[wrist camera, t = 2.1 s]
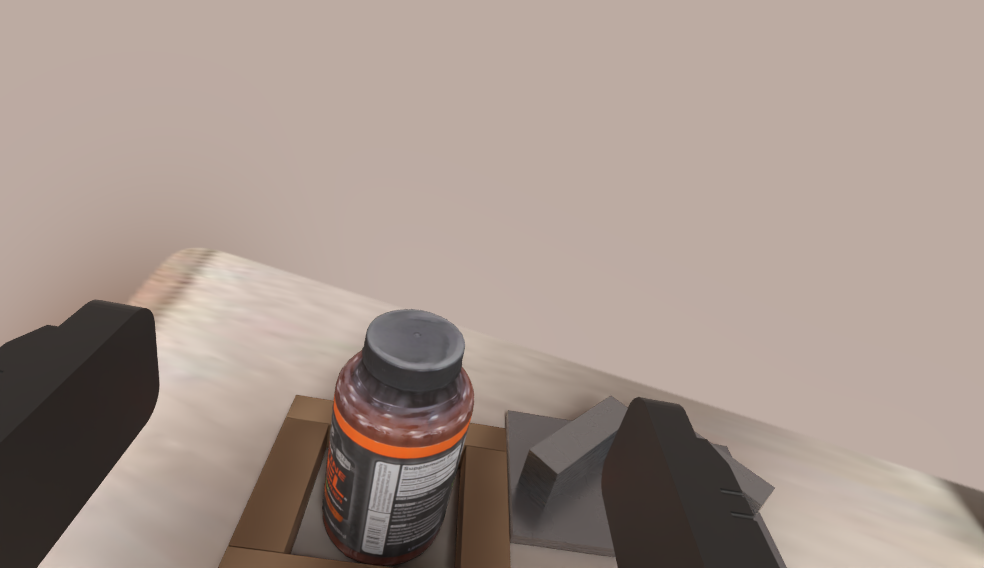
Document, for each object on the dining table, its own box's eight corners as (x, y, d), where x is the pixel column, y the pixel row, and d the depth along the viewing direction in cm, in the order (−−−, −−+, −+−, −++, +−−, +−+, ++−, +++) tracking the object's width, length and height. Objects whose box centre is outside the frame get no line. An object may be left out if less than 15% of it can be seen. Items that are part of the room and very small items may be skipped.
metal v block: (722, 451, 38) (742, 417, 36) (784, 580, 30) (812, 543, 28) (505, 416, 36) (517, 379, 35) (510, 542, 28) (525, 501, 27)
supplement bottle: (312, 479, 29) (328, 295, 23) (422, 460, 31) (459, 291, 26) (332, 588, 24) (358, 391, 19) (458, 555, 27) (513, 374, 22)
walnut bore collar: (498, 450, 33) (505, 428, 33) (502, 647, 24) (512, 624, 23) (294, 418, 32) (296, 394, 31) (210, 613, 22) (209, 587, 22)
